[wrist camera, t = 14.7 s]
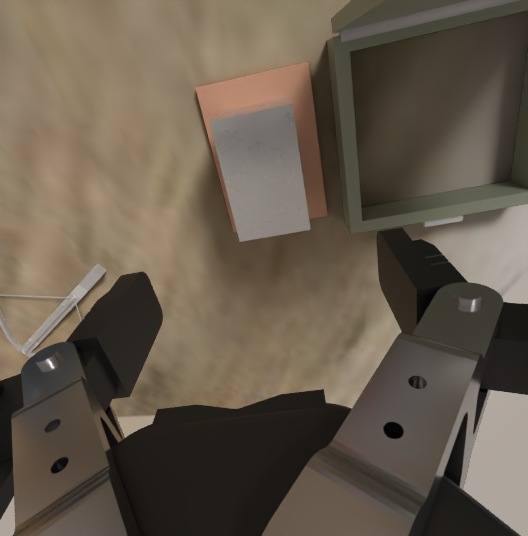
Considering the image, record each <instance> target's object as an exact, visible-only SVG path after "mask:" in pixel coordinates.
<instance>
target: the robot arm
mask: <svg viewBox="0 0 528 536" xmlns="http://www.w3.org/2000/svg"><path fill="white" fill-rule="evenodd" d="M377 255H378V273H379V281H380V285H381V289H382V291H383V294H384V296H385V298H386V300H387V302H388V304H389V306H390V308H391V310H392V312H393V314H394V316H395V318H396V320H397V322H398V324H399V327H400V329H401V331H402V332H401V333H400V334H399V335H398V336H397V338H396V339H395V341H394V343H393V344H392V346H391V347H390V349H389V351H388V352H387V354H386V355H385V357H384V359H383V360H382V362H381V363H380V365H379V367H378V368H377V370H376V371H375V373H374V374H373V376H372V378H371V379H370V381H369V382H368V384H367V386H366V387H365V389H364V390H363V392H362V394H361V395H360V397H359V398H358V400H357V402H356V403H355V405H354V406H353V408H352V409H351V408H348V407H345V406H341V405H337V404H330V403H326V401H325V395H324V389H322V390H314V391H306V392H298V393H289V394H281V395H278V396H275V397H272V398H269V399H266V400H263V401H260V402H257V403H254V404H252V405H249V406H246V407H243V408H239V409H229V408H220V407H212V406H203V405H190V406H182V407H174V408H165V409H157V412H156V415H155V418H154V421H153V424H151V425H148V426H146V427H144V428H142V429H140V430H138V431H136V432H134V433H132V434H130V435H129V436H127V437H126V438H125V437H124V434H123V432H122V429H121V427H120V425H119V422H118V420H117V417H116V415H115V412H114V410H113V409H112V407H111V405H110V403H111V401H112V399H115V398H123V397H130V395H131V392H132V390H133V388H134V386H135V383H136V381H137V379H138V377H139V374H140V372H141V370H142V368H143V365H144V363H145V361H146V359H147V356H148V354H149V352H150V350H151V347H152V345H153V343H154V341H155V339H156V336H157V334H158V332H159V330H160V327H161V325H162V321H163V314H162V309H161V306H160V304H159V301H158V299H157V297H156V294H155V292H154V290H153V287H152V285H151V282H150V280H149V278H148V276H147V274H146V273H144V272H138V273H132V274H126V275H122V276H120V277H119V279H118V280H117V281H116V283H115V284H114V285H113V287H112V288H111V289H110V291H109V292H108V293H106V294H105V295H104V296H102V297H101V298H100V299H99V300H97V302H96V303H95V304H94V306H93V307H92V308H91V311H89V312H88V313H87V315H86V316H85V317H84V318H85V319H83V320H82V321H81V323H80V324H79V325H78V326H77V328H76V329H75V330H74V332H73V333H72V334H71V335H70V337H69V338H68V339H67V341H66V342H61V343H57V344H54V345H51V346H49V347H46V348H44V349H43V350H41V351H39V352H38V353H36V354H35V355H33V356H32V357H31V358H30V359H29V360H28V361H27V362H26V363H25V364H24V366H23V368H22V370H21V374H18V375H16V376H13V377H10V378H7V379H4V380H2V381H0V519H1V517H2V516H3V514H4V512H5V510H6V509H7V507H8V505H9V503H10V502H11V500H12V498H13V496H14V501H15V502H14V503H15V532H14V535H13V536H520V535H519V534H518V533H516V532H515V531H514V530H513V529H511V528H510V527H509V526H508V525H506V524H505V523H504V522H503V521H501V520H500V519H499V518H498V517H496V516H495V515H494V514H493V513H491V512H490V511H489V510H487V509H486V508H485V507H484V506H483V505H481V504H480V503H479V502H477V501H476V500H475V499H474V498H472V497H471V496H470V495H469V494H467V493H466V492H465V491H464V490H463V487H464V484H465V480H466V476H467V472H468V467H469V462H470V458H471V453H472V449H473V446H474V442H475V439H476V436H477V433H478V429H479V425H480V423H481V419H482V417H483V413H484V410H485V407H486V404H487V400H488V397H489V394H490V390H496V391H504V392H511V393H518V394H526V395H528V304H516V303H507V302H503V299H502V297H501V295H500V294H499V293H498V292H496V291H495V290H493V289H491V288H489V287H487V286H484V285H481V284H476V283H468V282H467V281H466V280H465V278H464V277H463V276H462V275H461V274H460V273H459V272H458V271H457V270H456V269H455V267H454V266H453V265H452V264H451V263H450V262H448V260H447V259H446V258H445V256H444V255H442V253H441V252H440V251H439V250H438V249H437V248H436V247H435V245H433V244H430V243H428V242H426V241H424V240H421V239H420V240H414V241H412V240H411V238H410V237H409V236H408V235H407V233H406V232H405V231H404V230H403V229H402V228H396V229H390V230H384V231H379V232H377Z"/></svg>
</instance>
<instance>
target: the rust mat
mask: <svg viewBox="0 0 528 536" xmlns="http://www.w3.org/2000/svg"><path fill="white" fill-rule="evenodd" d="M196 92H197V96H198V99H199V103H200V107H201V111H202V115H203V118H204V122H205V126H206V130H207V133H208V137H209V141H210V145H211V149H212V152H213V156H214V160H215V164H216V167H217V171H218V175H219V179H220V183H221V186H222V190H223V194H224V198H225V201H226V205H227V209H228V213H229V217H230V220H231V224H232V228H233V232H234V233H237V230H236V226H235V222H234V218H233V214H232V210H231V206H230V202H229V198H228V194H227V190H226V186H225V183H224V179H223V175H222V171H221V167H220V163H219V159H218V155H217V151H216V147H215V143H214V139H213V135H212V131H211V127H210V124H209V121H210V120H212V119H213V118H214V117H216V116H217V115H218V114H219V113H221V112H222V111H223V110H227V109H232V108H237V107H241V106H246V105H250V104H255V103H260V102H264V101H269V100H273V99H278V98H282V97H287V96H288V98H289V99H290V101H291V103H292V105H293V112H294V119H295V126H296V133H297V140H298V143H299V147H300V154H301V161H302V168H303V175H304V182H305V195H306V201H307V208H308V215H309V219H315V218H320V217H326V216H328V215H327V207H326V199H325V191H324V183H323V175H322V167H321V159H320V151H319V142H318V134H317V126H316V118H315V110H314V102H313V94H312V86H311V78H310V70H309V61H308V62H304V63H300V64H295V65H291V66H287V67H282V68H278V69H274V70H269V71H265V72H261V73H257V74H252V75H248V76H244V77H239V78H235V79H231V80H226V81H222V82H218V83H214V84H209V85H205V86H201V87H196Z"/></svg>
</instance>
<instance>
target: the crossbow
mask: <svg viewBox="0 0 528 536" xmlns="http://www.w3.org/2000/svg"><path fill="white" fill-rule="evenodd" d="M106 271H107V270H106V269H104V268H103V267H101V266H100V265H99V264H96V265H95V267H94V268H93V269H92V270H91V271H90V272H89V273H88V274H87V275H86V276H85V278H84V279H83V280H82V281H81V282H80V283H79V284H78V285H77V286H76V288H75V289H74V290H73V291H72V292H71V293H70V294H69V295H68V296H67V297H50V296H26V295H2V294H0V296H24V297H48V298H66V299H65V300H64V301H63V302H62V303H61V304H60V305H59V306H58V308H57V309H56V310H55V311H54V312H53V313H52V314H51V315H50V316H49V318H48V319H47V320H46V321H45V322H44V323H43V324H42V325H41V326H40V327H39V329H38V330H37V331H36V332H35V333H34V334H33V335H32V336H31V337H30V339H29V340H28V341H27V342H26V343H25V344H24V345H23V346H22V345H21V344H20V343H18V342H17V340H16V339H15V338H14V337H13V335H12V333H11V331H10V329H9V328H8V326H7V324H6V321H5V319H4V316H3V314H2V311H1V309H0V325H1V327H2V329H3V331H4V333H5V334H6V336H7V338H8V339H9V341H10V342H11V343H12V344H13V345H14V346H15V348H16V349H17V350H18V351H20V352H22V353H24V354H25V355H27V356H28V357H32V356H33V355H35V354H36V353H34V352H32V351H33V350H34V349H35V348H36V347H37V345H38V344H39V343H40V342H41V341H42V340H43V339H44V338H45V337H46V336H47V335H48V334H49V333H50V331H51V330H52V329H53V328H54V327H55V326H56V325H57V324H58V323H59V322H60V321H61V320H62V319H63V318H64V316H65V315H66V314H67V313H68V312H69V311H70V310H71V309H72V308H73V307H74V306H75V305H76V308H77V311H78V314H79V317H80V320H81V321H82V319H81V316H80V313H79V310H78V307H77V303H78V302H79V300H80V299H81V298H82V297H83V296H84V295H85V294H86V293H87V292H88V291H89V290H90V289H91V287H92V286H93V285H94V284H95V283H96V282H97V281H98V280H99V279H100V278H101V277H102V276H103V274H104V273H105V272H106Z"/></svg>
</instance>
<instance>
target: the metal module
mask: <svg viewBox="0 0 528 536" xmlns="http://www.w3.org/2000/svg"><path fill="white" fill-rule="evenodd" d="M209 124H210V127H211V131H212V135H213V139H214V143H215V147H216V151H217V155H218V159H219V163H220V167H221V171H222V175H223V179H224V183H225V186H226V190H227V194H228V198H229V202H230V206H231V210H232V214H233V218H234V222H235V226H236V230H237V234H238V238H239V241H240V242H243V241H248V240H254V239H260V238H266V237H271V236H277V235H283V234H289V233H294V232H300V231H306V230H311V229H310V222H309V215H308V208H307V201H306V195H305V182H304V175H303V168H302V161H301V154H300V147H299V143H298V140H297V133H296V126H295V119H294V112H293V105H292V103H291V101H290V99H289V98H288V96H287V97H282V98H278V99H273V100H269V101H264V102H260V103H255V104H250V105H246V106H241V107H237V108H232V109H227V110H223V111H222V112H221V113H219V114H218V115H217V116H216V117H214V118H213V119H212V120H210V121H209Z"/></svg>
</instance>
